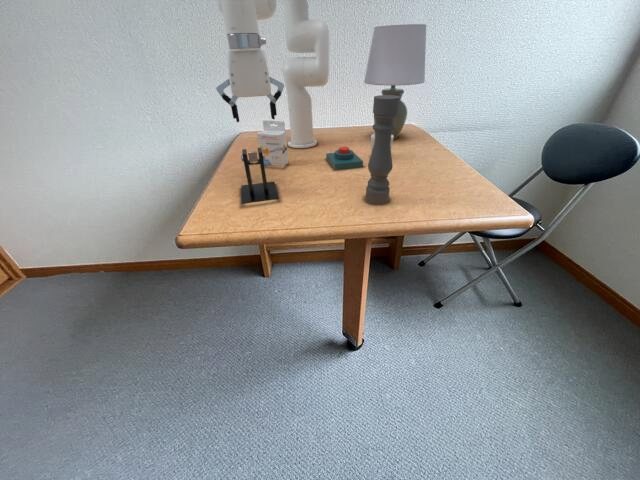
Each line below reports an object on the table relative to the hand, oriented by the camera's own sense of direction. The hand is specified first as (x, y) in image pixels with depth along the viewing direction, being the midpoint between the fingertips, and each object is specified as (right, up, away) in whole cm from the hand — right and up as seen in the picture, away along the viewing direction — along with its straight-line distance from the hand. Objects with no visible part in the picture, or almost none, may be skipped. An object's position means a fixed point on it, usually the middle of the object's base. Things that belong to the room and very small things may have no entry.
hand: (255, 119), depth 76 cm
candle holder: (+33, -22, -1) cm, 40 cm away
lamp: (+49, +13, +49) cm, 70 cm away
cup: (+40, -4, +25) cm, 48 cm away
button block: (+26, -6, +23) cm, 35 cm away
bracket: (0, -20, +3) cm, 21 cm away
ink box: (+2, -7, +23) cm, 24 cm away
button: (+26, -3, +21) cm, 34 cm away
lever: (-1, -12, +1) cm, 12 cm away
